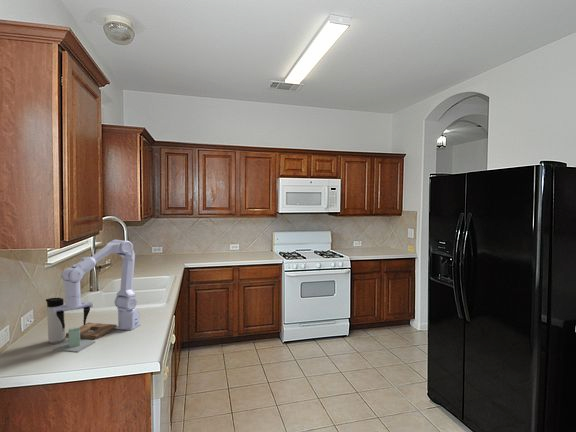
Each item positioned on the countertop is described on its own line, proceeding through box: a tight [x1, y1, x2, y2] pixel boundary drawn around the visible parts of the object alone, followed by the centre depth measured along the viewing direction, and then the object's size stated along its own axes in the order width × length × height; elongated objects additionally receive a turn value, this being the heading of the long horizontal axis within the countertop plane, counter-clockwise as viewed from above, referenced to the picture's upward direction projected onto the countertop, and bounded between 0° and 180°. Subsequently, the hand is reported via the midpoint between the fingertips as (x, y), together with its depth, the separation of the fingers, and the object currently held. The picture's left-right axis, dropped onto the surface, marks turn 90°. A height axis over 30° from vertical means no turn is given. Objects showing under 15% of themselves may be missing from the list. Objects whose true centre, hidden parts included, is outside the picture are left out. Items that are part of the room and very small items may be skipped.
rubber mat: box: [52, 339, 96, 353], centre depth 150 cm, size 12×10×1 cm
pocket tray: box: [65, 322, 118, 340], centre depth 165 cm, size 16×14×2 cm
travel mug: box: [45, 297, 66, 345], centre depth 154 cm, size 6×7×20 cm
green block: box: [68, 326, 81, 348], centre depth 150 cm, size 4×4×7 cm
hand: (74, 326), depth 149 cm, fingers open, 7 cm apart
